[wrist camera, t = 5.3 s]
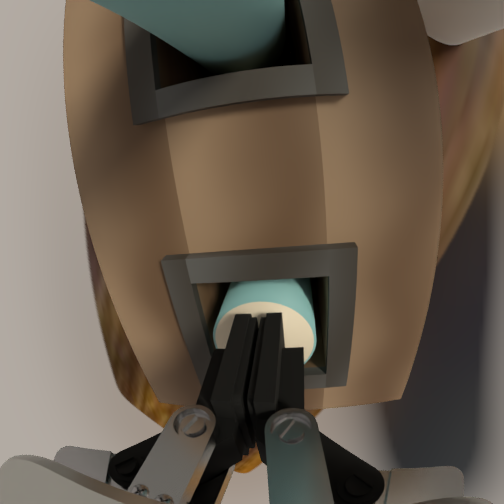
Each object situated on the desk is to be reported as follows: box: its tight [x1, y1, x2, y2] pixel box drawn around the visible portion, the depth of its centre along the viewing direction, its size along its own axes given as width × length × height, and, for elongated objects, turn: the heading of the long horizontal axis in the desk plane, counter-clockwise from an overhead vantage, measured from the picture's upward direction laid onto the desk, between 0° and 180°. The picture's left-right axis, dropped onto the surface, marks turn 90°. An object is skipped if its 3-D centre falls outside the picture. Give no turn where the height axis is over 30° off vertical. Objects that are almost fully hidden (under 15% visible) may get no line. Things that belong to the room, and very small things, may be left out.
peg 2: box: [213, 277, 316, 364], centre depth 16 cm, size 4×4×12 cm
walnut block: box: [63, 0, 443, 410], centre depth 14 cm, size 14×24×12 cm, turn 7°
